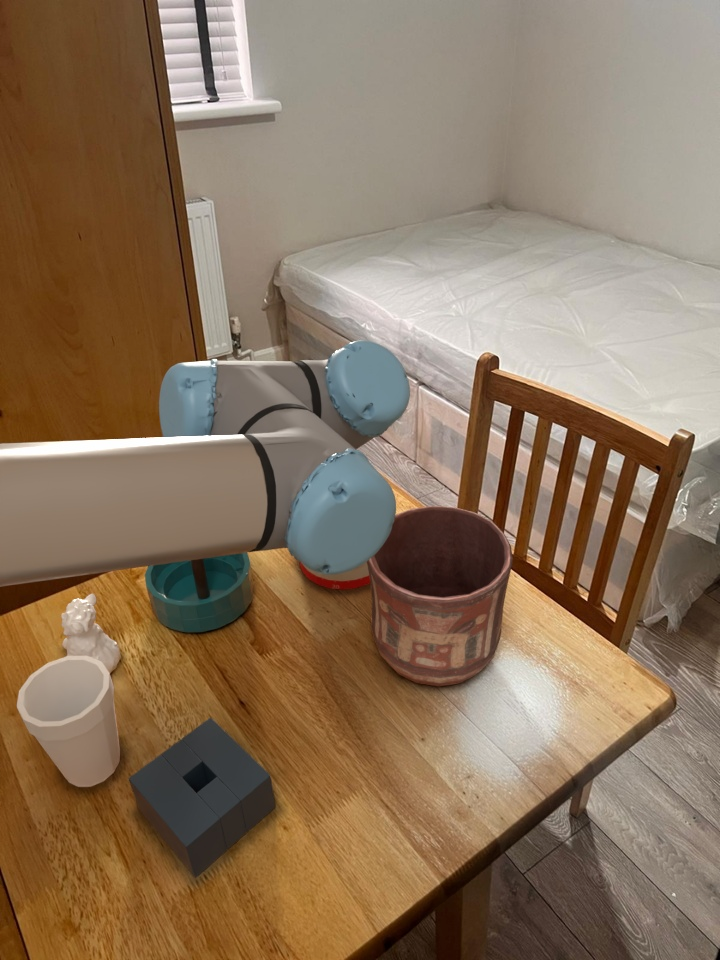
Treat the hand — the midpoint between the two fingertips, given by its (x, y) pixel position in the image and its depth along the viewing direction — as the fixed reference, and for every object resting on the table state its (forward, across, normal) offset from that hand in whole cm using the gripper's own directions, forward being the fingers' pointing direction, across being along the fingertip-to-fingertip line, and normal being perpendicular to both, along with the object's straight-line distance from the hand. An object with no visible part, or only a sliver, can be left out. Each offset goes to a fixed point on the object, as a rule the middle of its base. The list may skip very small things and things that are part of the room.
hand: (223, 504), depth 88 cm
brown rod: (+22, 0, -8) cm, 24 cm away
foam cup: (+14, -25, -18) cm, 34 cm away
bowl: (+23, 0, -9) cm, 24 cm away
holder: (+3, -19, -28) cm, 34 cm away
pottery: (+1, +16, -31) cm, 35 cm away
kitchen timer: (+17, +21, -15) cm, 30 cm away
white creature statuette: (+23, -18, -9) cm, 30 cm away
